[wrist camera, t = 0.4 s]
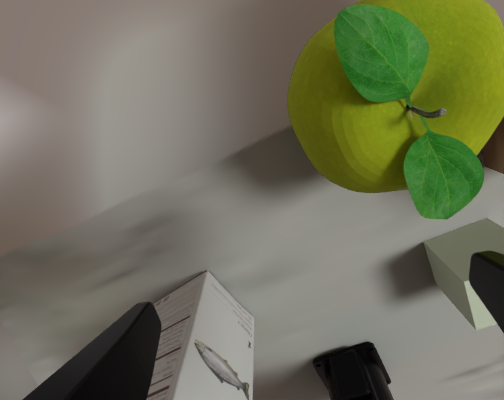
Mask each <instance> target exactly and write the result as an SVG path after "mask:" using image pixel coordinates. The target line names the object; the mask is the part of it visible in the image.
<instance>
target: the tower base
mask: <svg viewBox="0 0 504 400" xmlns="http://www.w3.org/2000/svg"><path fill="white" fill-rule="evenodd" d="M482 149H483V155H484V160H485V166H486V167H488V168H490V169H493V170H495V171H498V172H500V173H503V174H504V117H503V118H502V120H501V122H500V123H499V125H498V126H497V128H496V129H495V131H494V132H493V134H492V135H491V137H490V138H489V140H488V141H487V142H486V144H485V145H484V147H483V148H482Z"/></svg>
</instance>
